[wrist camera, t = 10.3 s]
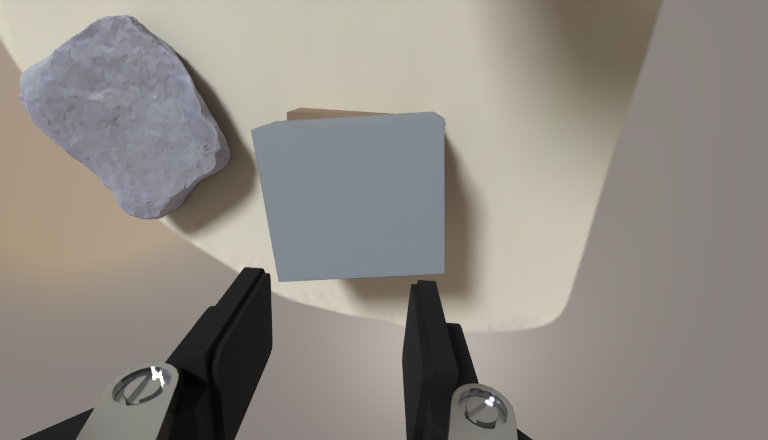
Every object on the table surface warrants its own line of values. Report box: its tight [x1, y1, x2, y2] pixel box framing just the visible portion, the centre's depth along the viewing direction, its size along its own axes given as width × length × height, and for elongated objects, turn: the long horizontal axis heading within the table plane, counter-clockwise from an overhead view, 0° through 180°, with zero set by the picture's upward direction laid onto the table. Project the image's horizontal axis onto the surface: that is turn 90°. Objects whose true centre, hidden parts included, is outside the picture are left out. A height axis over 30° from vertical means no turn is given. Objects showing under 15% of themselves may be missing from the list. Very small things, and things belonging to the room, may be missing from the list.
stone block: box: [19, 15, 231, 219], centre depth 26 cm, size 12×5×10 cm
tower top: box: [251, 112, 445, 282], centre depth 23 cm, size 9×10×4 cm
